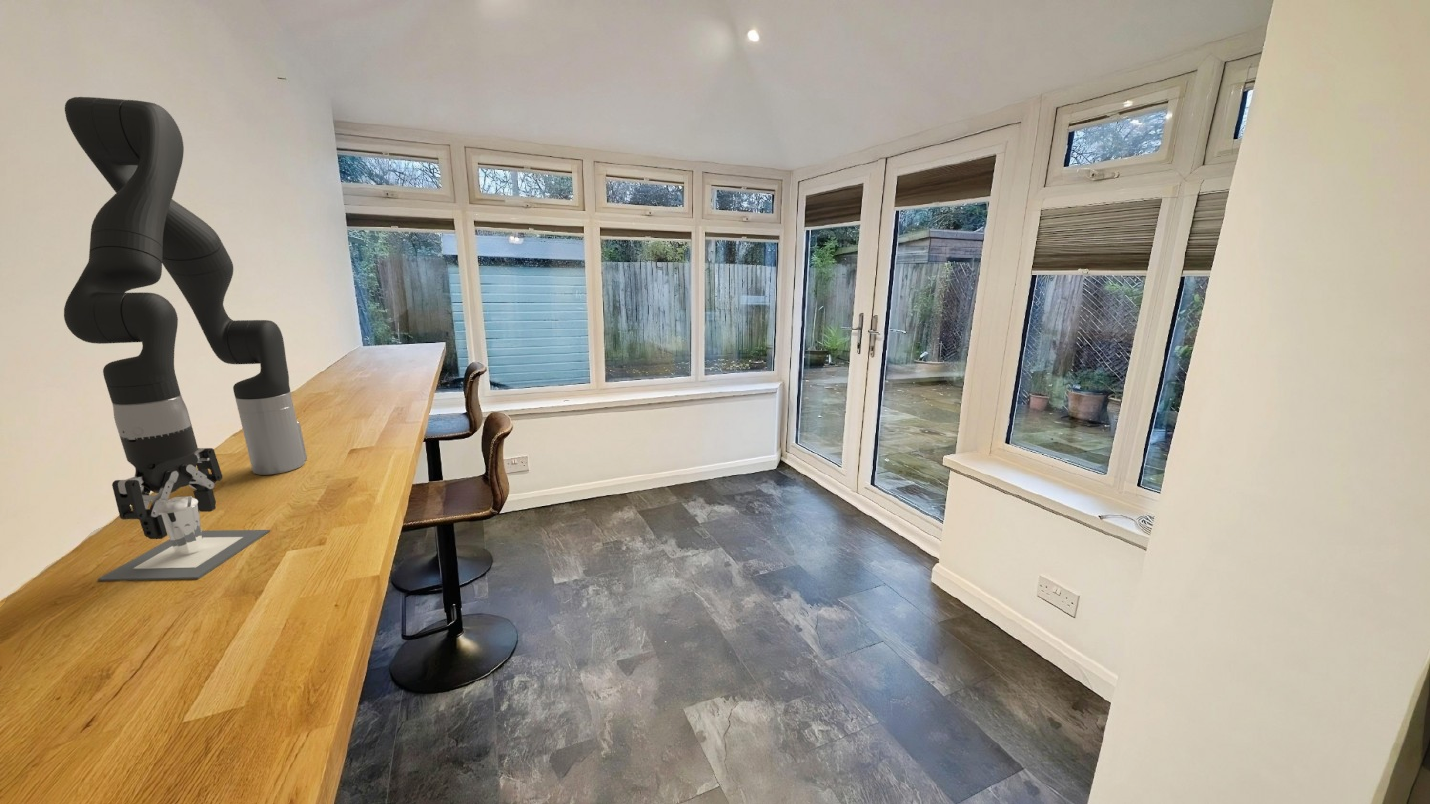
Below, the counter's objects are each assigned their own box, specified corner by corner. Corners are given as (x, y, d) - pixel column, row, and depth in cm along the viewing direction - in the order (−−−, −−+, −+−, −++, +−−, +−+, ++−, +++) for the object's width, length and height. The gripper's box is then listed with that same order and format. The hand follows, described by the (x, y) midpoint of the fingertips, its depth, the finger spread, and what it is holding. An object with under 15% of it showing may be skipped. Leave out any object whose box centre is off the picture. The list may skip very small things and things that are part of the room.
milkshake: (188, 560, 81) (172, 502, 78) (162, 556, 82) (145, 498, 79) (221, 545, 85) (206, 490, 83) (195, 541, 86) (180, 486, 84)
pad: (185, 532, 90) (184, 530, 90) (270, 531, 91) (269, 529, 91) (97, 580, 76) (97, 578, 76) (198, 579, 77) (198, 576, 77)
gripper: (173, 413, 84) (198, 503, 89) (76, 444, 71) (111, 548, 75) (222, 413, 85) (245, 502, 89) (134, 444, 71) (166, 547, 76)
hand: (184, 523), depth 82 cm, fingers open, 8 cm apart
